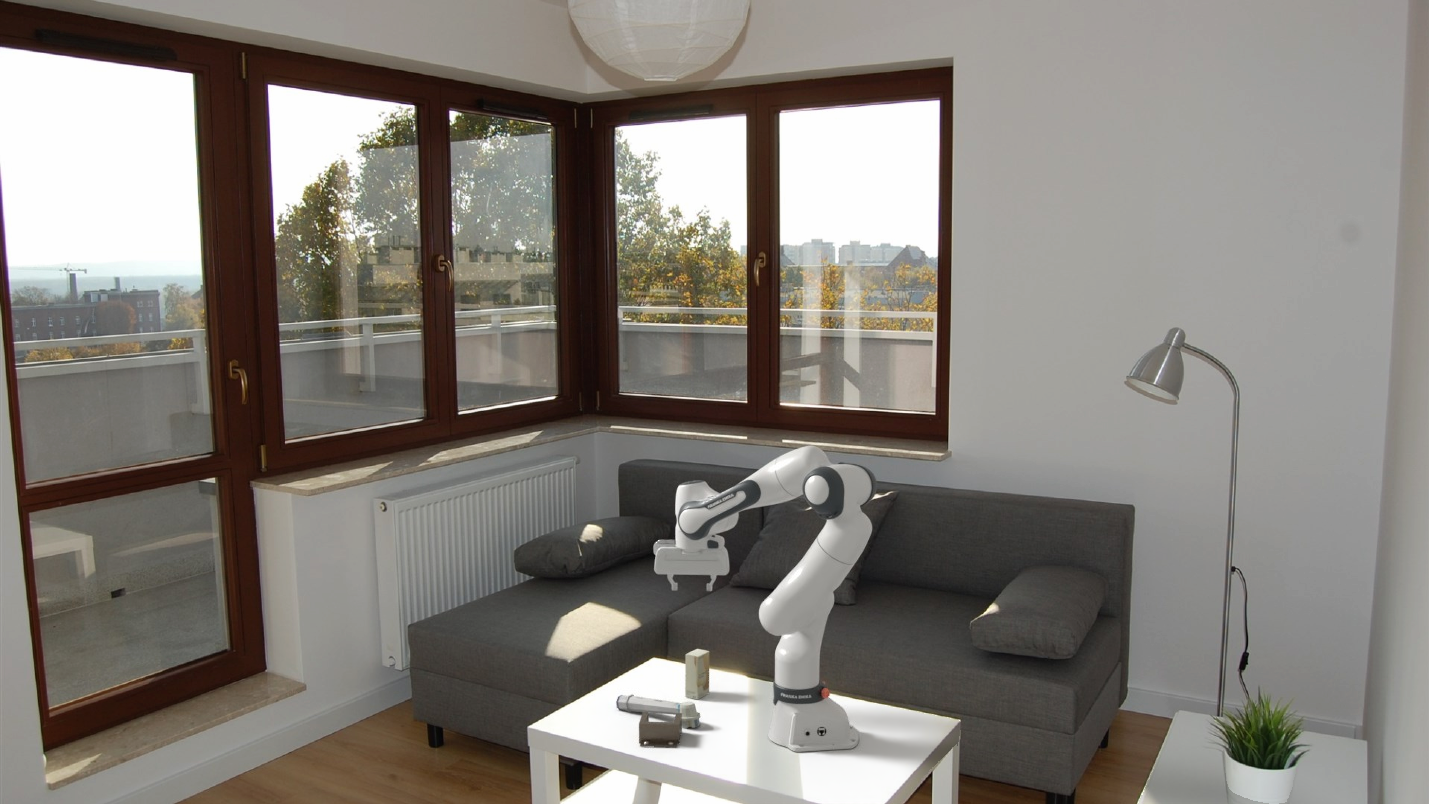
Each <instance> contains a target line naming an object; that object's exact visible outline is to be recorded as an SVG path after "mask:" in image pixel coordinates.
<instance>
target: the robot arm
mask: <svg viewBox="0 0 1429 804" xmlns="http://www.w3.org/2000/svg"><path fill="white" fill-rule="evenodd" d="M877 489H878V483H877V479H876V476H875V474H874V473H873V471H871V470H870V469H869V468H868V467H866V466H864V465H861V464H857V463H850V462H843V461H840V462H838V463H836V464H835V463H832V462H830V460H829V457H828V456H827V454H826V453H825V452H824V450H823V449H822V448H820V447H818V446H815V445H805V446H802V447H798V448H796V449H793V450H790V451H788V452H786V453H784V454H781V455H779V456H778V457H776V458H774V459H773V460H771V461H770V462H768V463H767V464H765V465H764V466H762V467H761V468H760V469H758V470H757V471H755V472H754V473H752V474H751V475H749V476H747V477H746V478H745V479H743V480H742V481H740V482H739V483H737V484H736V485H733V486H732V487H730V488H728V489H725V490H724V491H722V492H718V491H716V490H714V489H713V488H712V487H710V486H709V485H708V483H707V482H706V481H705V480H700V479H698V480H690V481H685V482H682V483H680V484H679V485H678V487H677V488H676V493H675V506H674V507H675V510H674V512H675V516H676V518H675V519H676V524H675V531H674V532H675V534H674V535H675V539H659V540H657V541H655V542H654V544H653V548H652V549H653V554H654V555H655V559H654V568H653V570H654V572H655V573H656V574H657V575H667V576H666V577H667V580H668V582H669V583H670V585H671V591H678V588H679V587H678V584H679V583H678V582H675V581H674V579H673V577H674V575H679V576H680V575H681V576H682V575H683V576H684V575H686V576H687V575H689V576H692V575H693V576H694V575H695V576H696V575H697V576H710V579H711V580H710V582H709V583H708V582H707V583H706V592H712V591H713V585H714V583H715V581H716V579H717V576H727V575H728V574H729V572H730V558H729V553H728V549H727V548H726V547H725V543H726V542H725V538H724V537H723V536H721V535H718V534H720V533H724V532H727V531H730V530H732V529H733V528H735V527H736V526H737V524H738V521H739V518H740V512H742V511H745V510H750V509H754V508H761V507H766V506H767V507H768V506H772V505H776V504H782V503H786V502H789V501H792V500H794V499H797V498H798V497H801V496H803V498H804V500H805V501H806V503H807V504H808V506H809V508H811V509H813V510H814V511H815V514H816V515H817V517H818V518H820V519H822V520H825V521H826V522H825V524H824V526H823V528H822V529H821V531H820V532H819V534H818V535H817V536H816V538H815V540H814V541H813V543H812V544H811V545H810V547H809V548H808V550H807V551H806V553H805V554H804V555H803V557H802V559H801V560H799V562H798V563H797V564H796V565H795V567H793V568H792V569H791V571H789V572H788V574H787V575H786V576H785V577H784V578H783V579H782V580H781V582H779V584H778V585H777V586H776V588H774V590H773V591H772V592H771V593H770V594H769V595H768V596H767V597H766V598H765V599H764V601H762V602H761V604H760V606H759V610H758V618H759V621H760V624H761V626H762V628H763V629H764V630H765V631H766V632H767V633H768V634H771V635H772V636H776V637H780V636H781V637H780V639H779V642H778V644H777V646H776V649H775V652H774V680H773V681H772V682H773V684H772V703H773V711H772V717H771V723H770V727H769V731H768V734H767V736H768V738H769V740H770V741H772V742H773V743H775V744H777V745H779V746H783V747H786V748H787V749H789V750H791V751H793V752H796V753H800V752H801V753H802V752H817V751H828V750H829V751H833V750H834V751H835V750H850V749H854V748H855V747H857V745H858V744H859V742H860V741H859V732H858V730H857V729H856V727H855V726H854V725H852V724H851V723H850V721H849V716H848V713H847V711H846V710H845V709H844V707H843V706H841V705H840V704H839V703H837V702H836V701H834V700H833V699H832V698H831V697H830V695H831V694H830V690H829V689H828V685H827V684H826V682H825V680H823V681H822V680H820V660H821V659H820V656H821V655H820V654H821V647H822V642H823V637H824V633H825V629H826V626H827V625H826V624H827V621H828V618H829V614H830V613H831V610H832V608H833V607H834V604H835V594H834V591H835V590H836V589H837V588H839V587H840V586H841V584H842V583H843V581H844V580H845V579H846V577H847V575H848V574H849V573H850V571H851V569H852V568H853V567H854V566H855V564H856V563H857V561H858V560H859V558H860V556H861V555H862V554H863V552H864V550H865V548H866V546H867V544H868V541H869V539H870V537H871V535H872V532H873V524H872V522H871V521H872V520H870V518H869V517H868V516H867V514H865V513H864V512H863V511H862V509H861V508H862V507H863V506H865V505H867V504H869V503H870V502H871V501H872V500H873V499H874V497H875V496H876V493H877ZM837 590H838V589H837Z"/></svg>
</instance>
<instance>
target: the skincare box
mask: <svg viewBox="0 0 1429 804" xmlns="http://www.w3.org/2000/svg"><path fill="white" fill-rule="evenodd" d="M684 667H685V674H684V675H685V676H684V677H685V678H684V679H685V682H684V683H685V684H684V685H685V686H684V689H685V692H684V693H685V694H684V697H686V698H689V699H692V700H693V699H694V700H700V699H702V698H703V697H705V696H707V695H709V694H710V651H709V650H706V649H700V648H696V649H694V650H692V651H689V652H688V653H686V654H685V666H684ZM708 693H709V694H708Z"/></svg>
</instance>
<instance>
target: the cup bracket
mask: <svg viewBox="0 0 1429 804" xmlns="http://www.w3.org/2000/svg"><path fill="white" fill-rule="evenodd" d="M641 713H642V714H641V717H640V719H639V723H638V744H639V747H640V746H654V747H653V748H675V749H676V747H678V745H680V744H679V743H681V738H682V735H681V734H682V733H683V728H682V713H676V715H675V716H674V720H673V721H672V722H671V721H650V720H649V719H650V717H649V716H650V713H649V712H641Z"/></svg>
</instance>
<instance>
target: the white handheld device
mask: <svg viewBox="0 0 1429 804" xmlns="http://www.w3.org/2000/svg"><path fill="white" fill-rule="evenodd" d="M615 704H616V709H618V710H619V711H625V712H628V713H632V712H636V713H637V712H639V713H643V712H649V714H661V715H662V714H664V715H673V716H674V715H676V713H682V727H683V728H682V729H688V728H692V729H694V728H697V727H699V726H700V725H701V724H700V718H701V712H698V711H697V707H696V704H695V702H694V701H682V702H676V701H670V700H664V699H656V698H649V697H643V696H637V695H634V694H633V693H632V694H629V695H628V694H621V695H619V696H617V698H616V702H615Z"/></svg>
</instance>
